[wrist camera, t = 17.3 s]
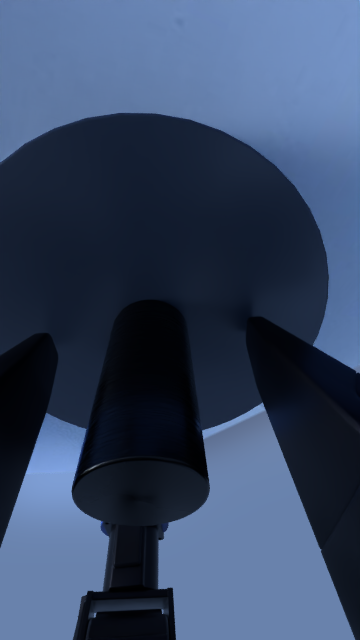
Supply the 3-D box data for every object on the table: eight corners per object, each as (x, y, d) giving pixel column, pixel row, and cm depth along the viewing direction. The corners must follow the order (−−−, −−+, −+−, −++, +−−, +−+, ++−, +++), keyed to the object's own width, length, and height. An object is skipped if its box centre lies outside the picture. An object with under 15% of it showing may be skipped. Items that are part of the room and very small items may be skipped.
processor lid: (285, 406, 13) (363, 575, 8) (42, 426, 13) (-33, 612, 8) (355, 100, 7) (892, 4, 2) (-111, 131, 7) (-946, 117, 2)
